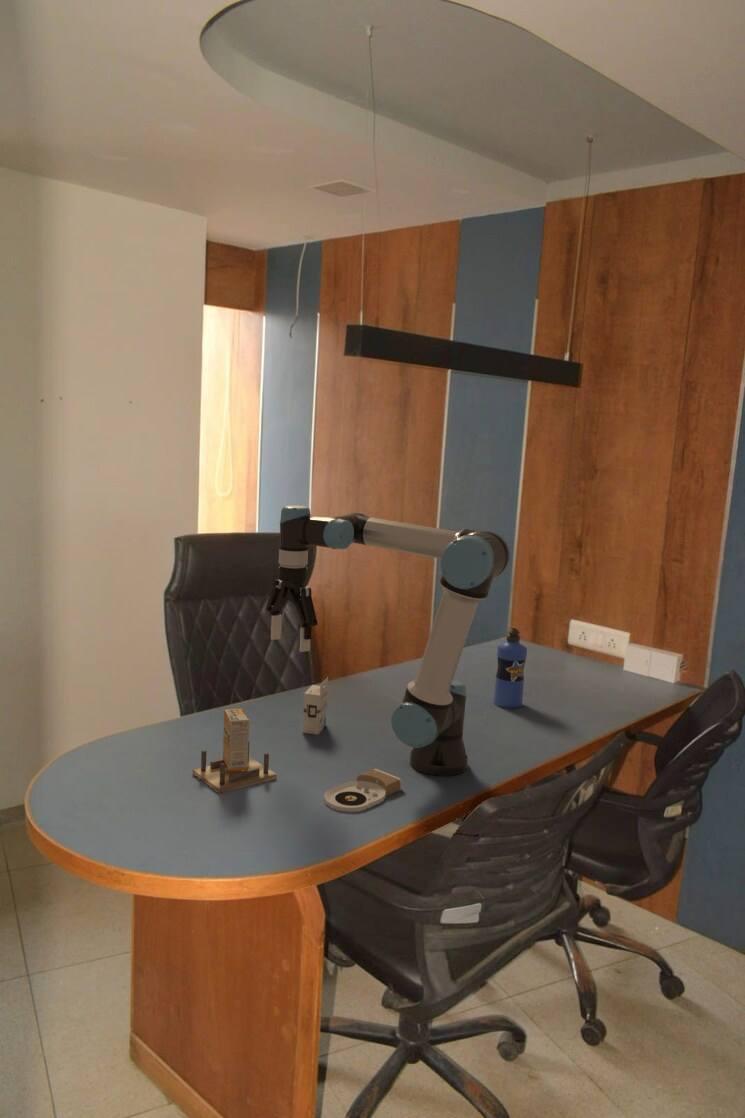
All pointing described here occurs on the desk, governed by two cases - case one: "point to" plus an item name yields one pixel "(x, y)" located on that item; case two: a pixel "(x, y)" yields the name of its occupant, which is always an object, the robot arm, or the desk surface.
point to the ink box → (315, 708)
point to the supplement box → (235, 739)
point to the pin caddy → (233, 774)
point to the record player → (362, 791)
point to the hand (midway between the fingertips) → (289, 645)
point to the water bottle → (510, 672)
